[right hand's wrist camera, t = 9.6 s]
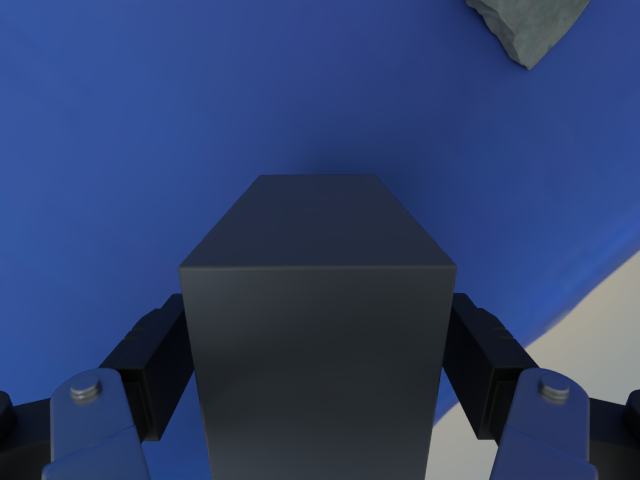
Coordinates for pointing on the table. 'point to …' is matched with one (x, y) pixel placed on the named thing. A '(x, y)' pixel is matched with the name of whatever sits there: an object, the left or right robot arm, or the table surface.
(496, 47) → the table surface
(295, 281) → the box
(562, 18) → the stone
